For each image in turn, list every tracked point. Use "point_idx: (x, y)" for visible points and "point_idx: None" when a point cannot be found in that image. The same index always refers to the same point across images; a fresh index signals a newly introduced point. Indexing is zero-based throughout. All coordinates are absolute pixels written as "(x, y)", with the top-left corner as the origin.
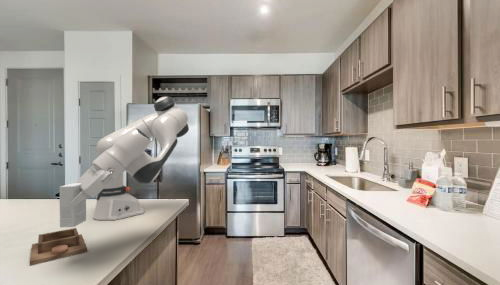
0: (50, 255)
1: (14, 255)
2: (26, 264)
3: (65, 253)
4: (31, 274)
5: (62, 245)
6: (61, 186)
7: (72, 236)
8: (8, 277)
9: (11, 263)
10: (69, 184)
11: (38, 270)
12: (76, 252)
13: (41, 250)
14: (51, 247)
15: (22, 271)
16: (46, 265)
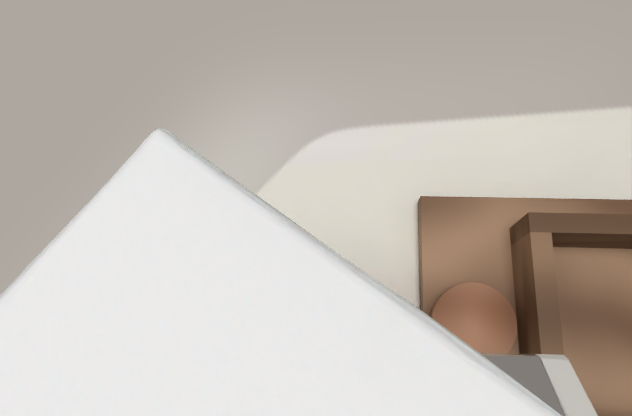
0: (440, 279)
1: (620, 142)
2: (446, 191)
3: None
4: (304, 210)
5: (503, 339)
6: (129, 159)
7: None
8: (339, 139)
9: (506, 138)
10: (343, 351)
11: (329, 234)
12: None
13: (515, 238)
14: (521, 284)
15: (367, 180)
16: (367, 264)
